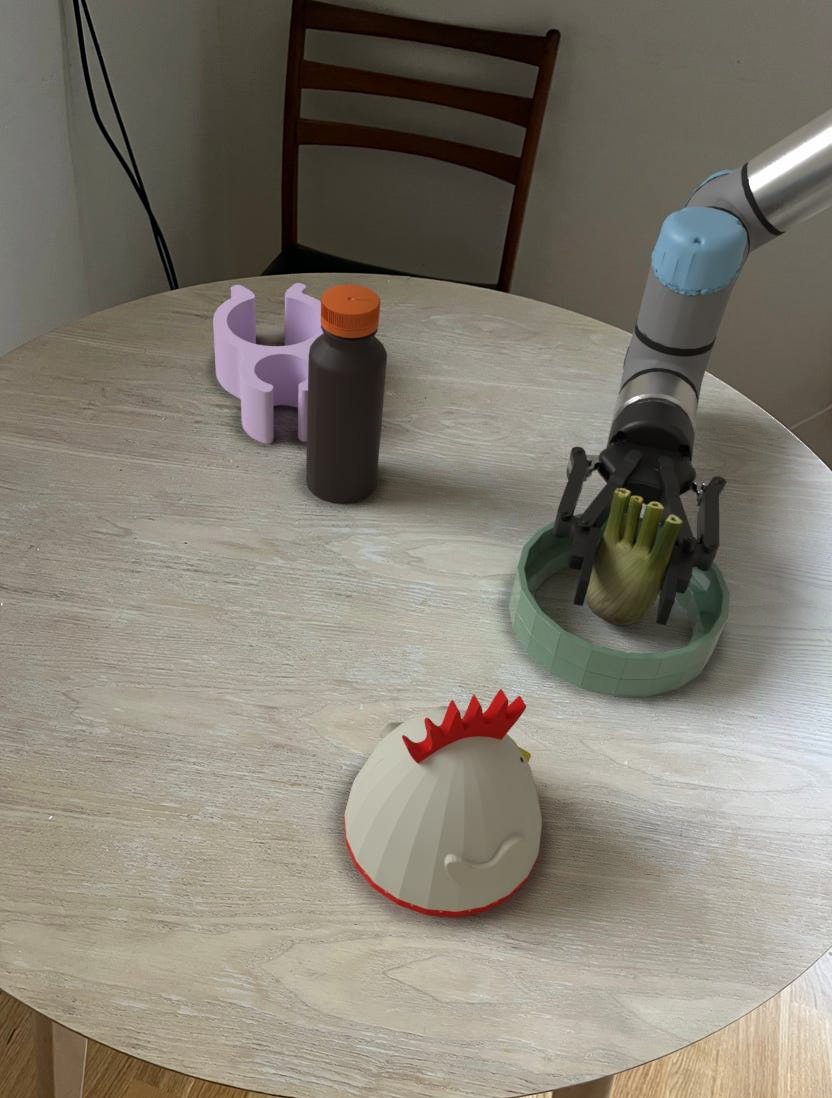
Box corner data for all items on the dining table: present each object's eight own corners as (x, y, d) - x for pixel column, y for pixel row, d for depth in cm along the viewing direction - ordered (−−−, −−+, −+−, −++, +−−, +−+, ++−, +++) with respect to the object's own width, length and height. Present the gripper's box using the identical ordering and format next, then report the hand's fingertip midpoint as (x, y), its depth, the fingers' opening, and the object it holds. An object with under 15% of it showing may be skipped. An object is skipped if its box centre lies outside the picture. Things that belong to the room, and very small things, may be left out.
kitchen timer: (570, 889, 75) (620, 760, 64) (387, 949, 71) (406, 823, 60) (485, 738, 83) (516, 601, 72) (317, 784, 80) (323, 648, 69)
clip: (348, 447, 108) (351, 388, 103) (223, 453, 106) (220, 394, 101) (323, 339, 121) (325, 282, 116) (212, 343, 119) (209, 285, 114)
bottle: (359, 460, 106) (371, 272, 92) (387, 502, 102) (405, 312, 88) (295, 475, 104) (297, 285, 90) (321, 518, 100) (328, 327, 85)
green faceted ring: (715, 583, 97) (734, 537, 93) (702, 726, 85) (723, 681, 81) (527, 540, 99) (537, 494, 95) (490, 673, 88) (500, 627, 84)
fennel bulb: (655, 627, 90) (694, 517, 81) (604, 642, 88) (638, 531, 80) (618, 582, 93) (652, 472, 85) (569, 595, 92) (598, 485, 83)
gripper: (743, 487, 100) (731, 664, 84) (543, 445, 103) (496, 608, 87) (770, 420, 94) (762, 596, 79) (558, 378, 97) (510, 539, 82)
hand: (623, 602), depth 83 cm, fingers closed on fennel bulb, 6 cm apart
